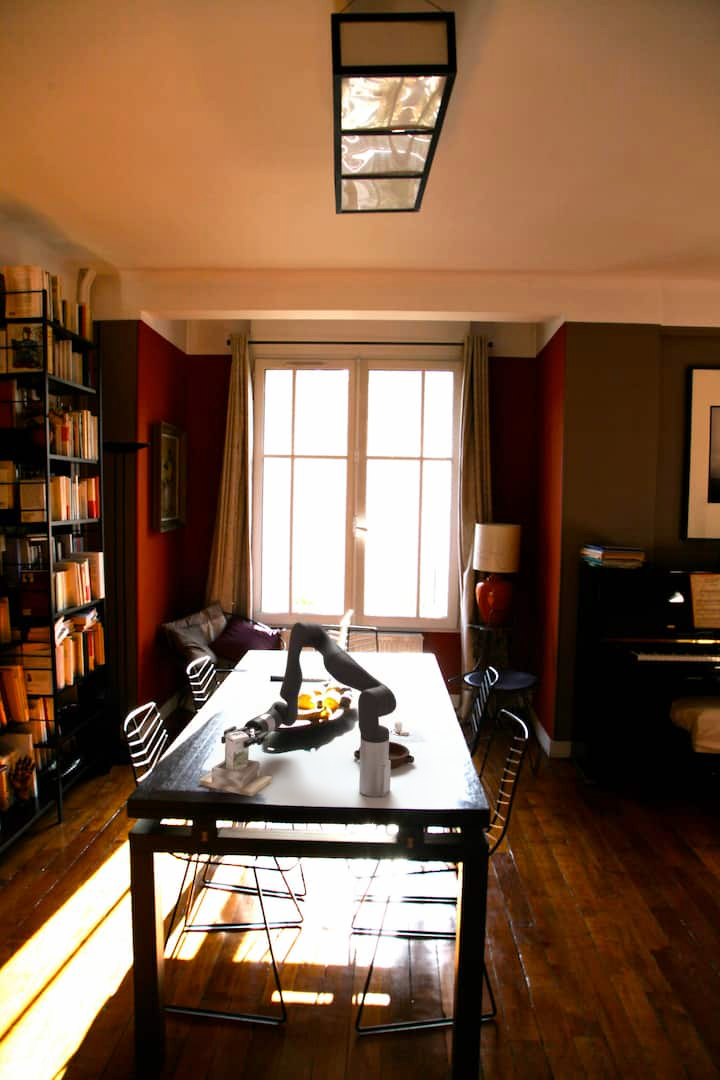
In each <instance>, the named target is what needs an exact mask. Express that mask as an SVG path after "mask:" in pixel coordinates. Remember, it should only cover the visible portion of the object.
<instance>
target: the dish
mask: <svg viewBox="0 0 720 1080" xmlns="http://www.w3.org/2000/svg"><path fill="white" fill-rule="evenodd" d="M353 757H354V758H355V759H358V760H360V746H359V747H358V749H357V750H354V752H353ZM389 760H390V761H391V769H396V768H399V767H401V766H403V765H405V764H414V762H415V757H414V756H413V755H411V753H410V750H409V748H408V747H406V746H405V745H403V744H401V743H398V742H394V741H389Z"/></svg>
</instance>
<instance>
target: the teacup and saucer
mask: <svg viewBox="0 0 720 1080" xmlns="http://www.w3.org/2000/svg"><path fill="white" fill-rule="evenodd" d="M393 725H394V728H391V729H388V730H389V734H391V735H394V734H395V736H406V735H408V734H409V733H410V731H409V730H407V729H405V728H403V722H402V721H396V722H394V724H393ZM393 729H395V730H393ZM402 729H403V730H402ZM390 730H393V731H395V732H396V733H394V732H392V733H391V732H390ZM393 733H394V734H393ZM399 734H400V735H399Z"/></svg>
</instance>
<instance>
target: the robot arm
mask: <svg viewBox="0 0 720 1080" xmlns="http://www.w3.org/2000/svg"><path fill="white" fill-rule="evenodd" d="M303 648H312V649H315V650H316V651H318V653H319V654H321V656H322V659H323V660H322V661H323V662H322V663H323V666H324V669H325V671H326V672H327V673H328V674H329V675H330V676H331V677H332V678H333V679H334V680H335V681H336V682H338V683H340V684H341V685H343V686H346V687H349V688H351V689H355V690H357V691H358V692H360V694H359V696H358V701H357V708H358V709H357V713H358V715H357V716H358V729H359V733H360V741H359V742H360V745H359V747H360V759H359V782H358V784H359V786H358V787H359V789H358V790H359V792H360V794H362V795H363V796H367V797H369V798H378V797H380V798H381V797H382V798H384V797H386V795H387V794H388V793H389V791H390V790H391V771H392V770H391V761H390V760H389V742H390V732H389V730H390V729H388V727H386V726H384V725H381V724H380V719H379V718H382V717H386V716H389V715H391V714H392V713H393V712H394V711H395V710H396V708H397V698H396V696H395V694H394V692H393V691H392V690H391V688H389V687H388V686H387V685H385V684H384V683H382V682H381V681H380V680H379V679H377V678H375V677H374V675H372V674H370V673H369V672H368V671H367V670H366V669H365V668H364V667H362V666H361V665H360V664H359V663H357V661H356V660H355V659H354V658H353V657H352V656H351V655H349V653H348V652H346V651H345V650H344V649H343V648H341V646H340V645H339V644H337V643H336V642H335V641H334V640H333V639H332V638H331V636H330V635H329V634H328V633H327V631H326V630H325V629H324V628H323V627H322V626H321V625H320V624H319V623H316V622H311V621H310V622H309V621H308V622H307V621H298V622H296V623H294V624H293V626H292V627H291V630H290V634H289V640H288V649H287V656H286V657H287V658H286V665H285V672H284V677H283V679H282V682H281V688H280V691H279V696H280V698H281V699H282V700H283V701H285V702H286V703H285V702H282V701H275V702H273V703H272V705H271V706H270V708H269V709H268V710H267V711H266V712H264V713H262V714H259V715H257V716H255V717H253V718H251V719H249V720H248V721H247V722H246V723H245V724H244V726H243V727H240V728H237V726H236V725H234V726H231V727H229V728H227V729H225V730H224V731H223V735H222V736H221V737H220V740H221V741H220V742H221V744H224V745H225V740H226V734H230V733H235V732H239V731H242V732H244V733H245V734H247V735H248V736H249V738H248V739H247V740H245V741H244V748H247V747H249V748H250V747H251V746H255V745H257V746H261V745H263V744H264V743H265V742H267V741H268V737H269V735H270V734H271V733H273V732H274V731H276V730H278V729H279V728H280V727H281V726H282V725H284V726H285V727H291V726H294V724H295V723H296V721H297V719H298V717H299V714H298V713H299V695H300V691H301V687H302V683H303V671H302V667H301V661H300V660H301V659H300V658H301V657H300V656H301V653H302V650H303Z"/></svg>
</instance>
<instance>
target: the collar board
mask: <svg viewBox="0 0 720 1080" xmlns="http://www.w3.org/2000/svg"><path fill="white" fill-rule="evenodd" d="M272 779H273V777H272V776H270V775H269V776H268V775H263V774H260V761H258V760H253V759H248V767H247V768H245V769H244V770H242V771H241V772H236V771H231V770H227V769H225V759H224V760H223V761H221V762H220V763H218V764H215V766H213V767H211V772H210V773H208V774H206V775H205V776H203V777H202V778H200V779H198V785H199V786H200V785H201V786H204V787H208V788H212V789H217V790H222V791H225V792H230V793H235V794H240V795H243V796H248V797H251V798H252V797H254V796H255V795H256V794H257V793H258V792H260V791H261V790H263V789H264V788H265V787H267V786H268V785H269V784H270V783H272V782H273V780H272Z"/></svg>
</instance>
